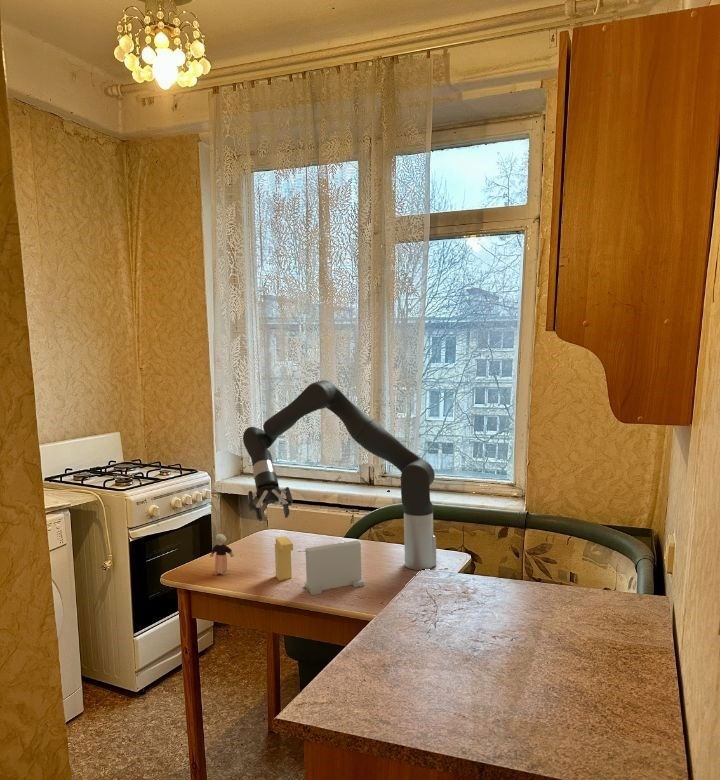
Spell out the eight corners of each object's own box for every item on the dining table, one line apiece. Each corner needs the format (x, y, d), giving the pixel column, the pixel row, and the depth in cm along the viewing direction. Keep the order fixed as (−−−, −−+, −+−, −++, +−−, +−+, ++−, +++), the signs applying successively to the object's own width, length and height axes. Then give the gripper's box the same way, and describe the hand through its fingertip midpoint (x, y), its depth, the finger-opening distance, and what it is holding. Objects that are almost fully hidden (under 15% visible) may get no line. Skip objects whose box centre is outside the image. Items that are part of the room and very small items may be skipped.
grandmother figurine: (208, 576, 174) (206, 536, 173) (211, 571, 177) (209, 532, 177) (233, 575, 174) (231, 535, 173) (235, 570, 178) (234, 531, 177)
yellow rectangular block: (288, 573, 174) (287, 535, 174) (295, 583, 167) (293, 543, 166) (275, 575, 173) (274, 537, 172) (281, 585, 165) (280, 545, 165)
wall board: (355, 577, 170) (354, 538, 169) (364, 585, 164) (363, 545, 163) (304, 586, 164) (303, 546, 164) (311, 595, 158) (310, 553, 157)
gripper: (245, 472, 186) (253, 514, 176) (287, 468, 191) (297, 509, 181) (243, 484, 191) (250, 527, 181) (284, 480, 196) (293, 521, 186)
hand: (273, 518), depth 181 cm, fingers open, 8 cm apart
